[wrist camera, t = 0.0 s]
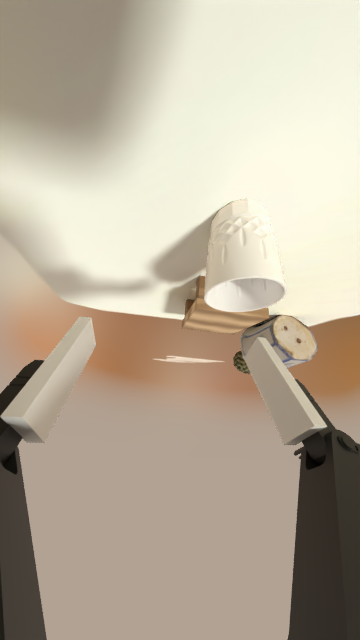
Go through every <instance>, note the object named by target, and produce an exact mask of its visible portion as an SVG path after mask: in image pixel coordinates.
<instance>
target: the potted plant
mask: <svg viewBox="0 0 360 640" xmlns="http://www.w3.org/2000/svg"><path fill="white" fill-rule="evenodd" d="M257 337H263V338H266V339H267V341H268V342H269V343H270V345H271V346H272V348H273V349H274V351H275V352H276V353H277V355H278V356H279V358H280V359H281V361H282V362H283V363H284V365H285V366H286V368H287V369H288V368H289V367H291V366H294V365H296V364H300V363H303V362H306V361H309V360H311V359H312V358H313V357H314V355H315V352H316V351H317V350H318V346H317V343H316V341H315V339H314V336H313V333H312V332H311V331H310V329H309V328H308V327H307V326H306V325H304V324H303V323H302V322H300V321H299V320H297V319H296V318H294V317H292V316H286V315H280V316H278V317H276V318H274V319H272V320H271V321H269V322H267V323H265V324H264V325H261V326H254V325H253V326H251V327H248V328H247V329H246V330H245V331H244V332H243V334H242V335H241V337H240V342H241V351H239V352H237V353H236V354H235V357H234V358H233V360H234V366H235V367H236V368H237V369H238V370H239V371H242V372H243V373H248V374H250V371H249V369H248V366H247V364H246V362H245V360H244V358H245V356H246V354H247V353H248V351H249V349H250V348H251V346H252V345H253V343H254V341H255V340H256V338H257Z"/></svg>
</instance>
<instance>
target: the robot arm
mask: <svg viewBox="0 0 360 640" xmlns="http://www.w3.org/2000/svg"><path fill="white" fill-rule="evenodd" d="M95 346H96V342H95V337H94V331H93V325H92V319H91V318H87V317H79V319H78V320H77V321H76V322H75V324H74V325H73V326H72V327H71V329H70V330H69V331H68V332H67V334H66V335H65V336H64V337H63V339H62V340H61V341H60V342H59V344H58V345H57V346H56V347H55V349H54V350H53V351H52V352H51V354H50V355H49V356H48V357H47V358H46V360H45V361H43V360H34V361H33V362H31V363H30V364H28V365H27V366H25V367H24V368H23V369H22V370H21V371H20V373H19V374H18V375H17V376H16V378H14V379H13V380H12V381H11V382H10V384H9V386H7V387H6V388H5V389H4V390H3V391H2V393H1V394H0V640H47V639H46V632H45V625H44V619H43V612H42V605H41V599H40V592H39V585H38V578H37V571H36V564H35V558H34V551H33V545H32V537H31V531H30V524H29V517H28V510H27V504H26V497H25V490H24V483H23V476H22V469H21V462H20V456H19V449H18V447H17V446H18V444H19V442H20V441H21V439H22V438H23V439H24V440H25V441H26V442H35V443H37V442H39V443H40V442H41V443H42V442H43V443H44V442H45V440H46V439H47V437H48V435H49V433H50V431H51V429H52V427H53V425H54V423H55V422H56V420H57V417H58V416H59V414H60V412H61V410H62V408H63V406H64V405H65V403H66V401H67V399H68V397H69V395H70V393H71V391H72V389H73V388H74V386H75V384H76V382H77V380H78V378H79V376H80V374H81V372H82V371H83V369H84V367H85V365H86V363H87V361H88V359H89V357H90V355H91V354H92V351H93V349H94V348H95ZM244 360H245V362H246V364H247V366H248V369H249V371H250V373H251V375H252V377H253V379H254V381H255V383H256V385H257V388H258V390H259V392H260V394H261V396H262V399H263V401H264V403H265V405H266V407H267V409H268V411H269V414H270V416H271V418H272V420H273V422H274V424H275V426H276V429H277V431H278V432H279V435H280V437H281V439H282V441H283V443H284V445H296V444H298V443H300V442H301V441H302V443H303V444H304V447H302V448H300V449H298V450H296V451H295V452H294V455H298V454H300V453H301V456H300V457H299V459H301V466H300V480H299V494H298V509H297V524H296V540H295V554H294V568H293V583H292V598H291V612H290V628H289V636H288V640H360V444H357V443H355V441H354V440H353V439H352V438H351V437H350V436H348V435H347V434H346V433H344V432H342V431H340V430H336V429H335V427H334V426H333V425H332V423H331V422H330V421H329V419H328V418H327V417H326V415H325V414H324V412H323V411H322V410H321V408H320V407H319V406H318V404H317V403H316V402H315V401H314V399H313V397H312V396H311V395H310V393H309V392H308V390H307V389H306V388H305V386H304V385H303V384H302V383H300V382H299V381H298V380H297V379H294V378H293V376H292V375H291V373H290V372H289V371H288V369H287V368H286V366H285V365H284V363H283V362H282V361H281V359H280V358H279V356H278V355H277V353H276V352H275V351H274V349H273V348H272V346H271V345H270V343H269V342H268V341H267V339H266V338H263V337H257V338H256V340H255V341H254V343H253V345H252V346H251V348H250V349H249V351H248V353H247V354H246V356H245V358H244Z"/></svg>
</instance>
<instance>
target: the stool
mask: <svg viewBox="0 0 360 640" xmlns="http://www.w3.org/2000/svg"><path fill="white" fill-rule="evenodd" d="M204 291H205V277H204V276H199V278H198V280H197V288H196V300H195V301H192V300H187V301H186V305H185V317H184V319H183V321H182V329H191V330H200V331H208V332H218V333H226V334H235V333H237V332H239V331H242V330H244V329H246V328H248V327H251V326H253V325H255V324H257V323H260V322H262V321H264V320H266V319H269V310H268V308H262V309H259V310H254V311H247V312H227V311H221V310H217V309H214V308H212V307H210V306H209V305H207V304H206V302H205V301H204Z"/></svg>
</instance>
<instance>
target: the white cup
mask: <svg viewBox="0 0 360 640" xmlns="http://www.w3.org/2000/svg"><path fill="white" fill-rule="evenodd" d="M286 293H287V287H286V282H285V278H284V273H283V268H282V264H281V259H280V254H279V250H278V246H277V243H276V238H275V234H274V231H273V229H272V226H271V221H270V216H269V212H268V210H267V208H266V207H265V206H264V205H263V204H262V203H261V202H260V201H256V200H252V199H248V198H246V199H242V200H237V201H233V202H231V203H229V204H228V205H226V206H225V207H223V208H222V209H220V210H219V212H218V213H217V215H216V216H215V217H214V219H213V220H212V224H211V230H210V241H209V244H208V253H207V264H206V277H205V291H204V301H205V302H206V304H207V305H209V306H210V307H212V308H214V309H217V310H221V311H227V312H247V311H254V310H259V309H262V308H266V307H269V306H271V305H273V304H275V303H277V302H279V301H280V300H281V299H283V298H284V296H285V295H286Z"/></svg>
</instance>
